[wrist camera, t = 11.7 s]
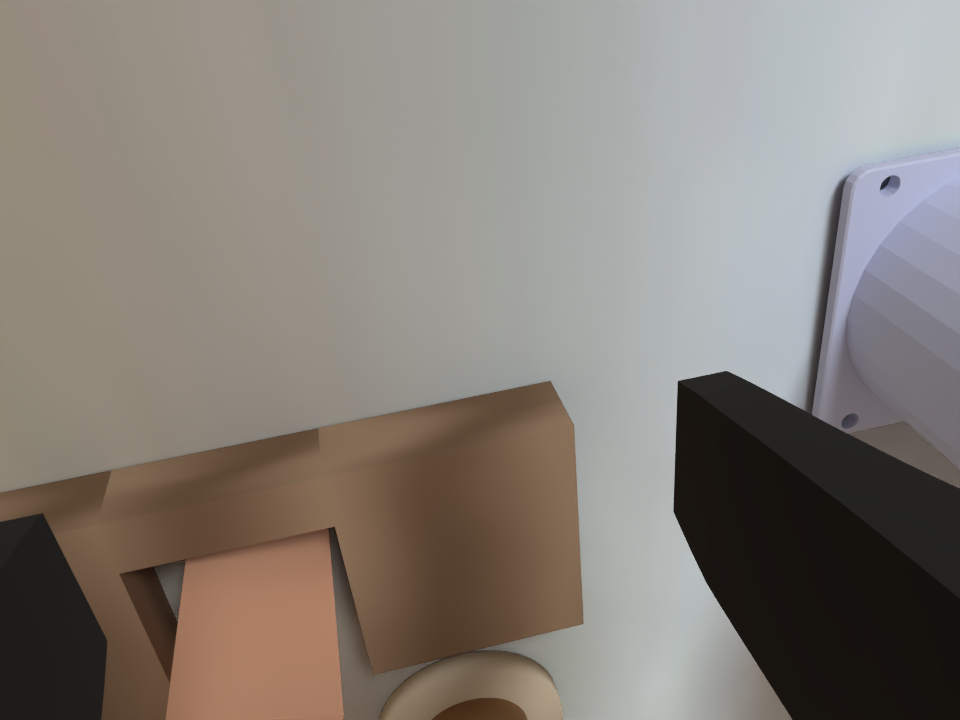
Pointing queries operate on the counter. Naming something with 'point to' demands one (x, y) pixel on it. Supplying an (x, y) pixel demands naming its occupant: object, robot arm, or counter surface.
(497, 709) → the bobbin
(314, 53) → the counter surface
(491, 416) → the notched board
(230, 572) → the salmon pink cuboid
